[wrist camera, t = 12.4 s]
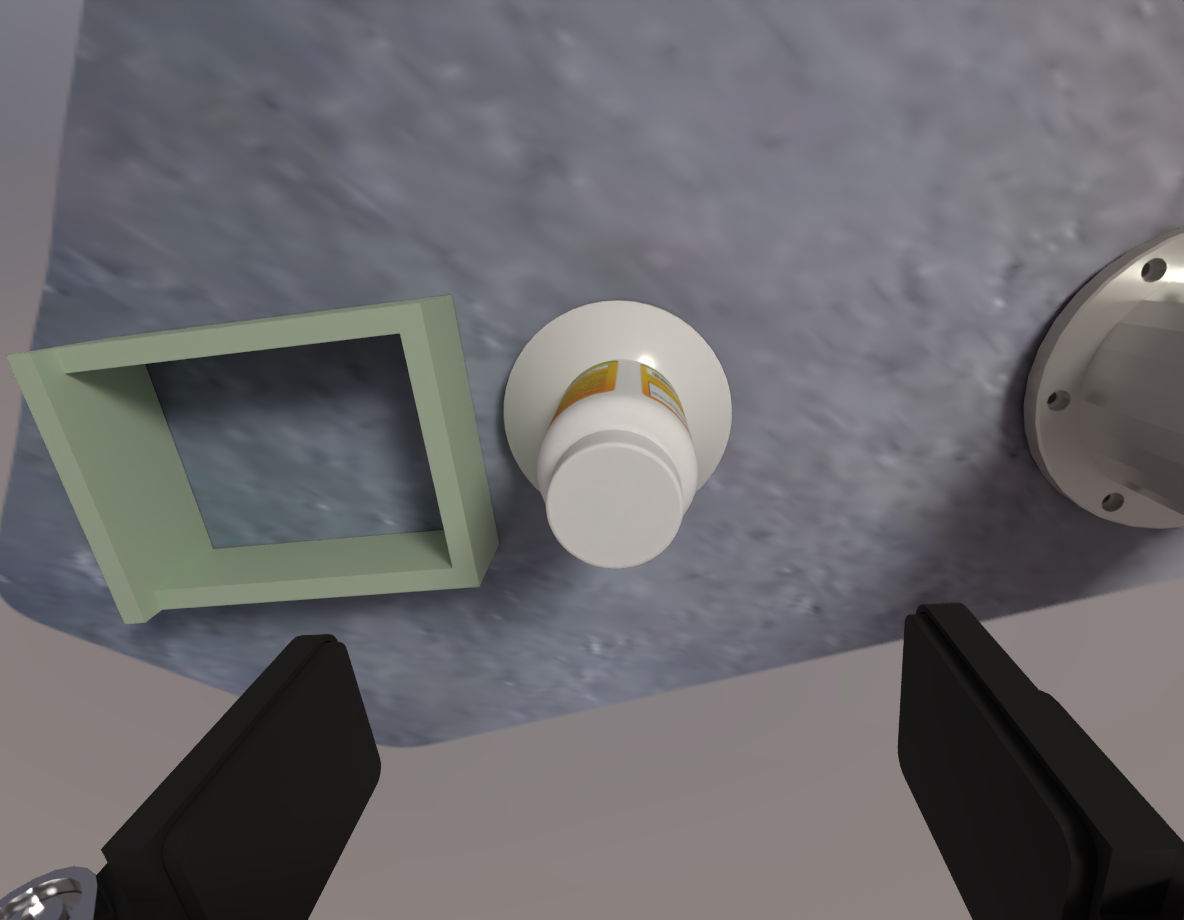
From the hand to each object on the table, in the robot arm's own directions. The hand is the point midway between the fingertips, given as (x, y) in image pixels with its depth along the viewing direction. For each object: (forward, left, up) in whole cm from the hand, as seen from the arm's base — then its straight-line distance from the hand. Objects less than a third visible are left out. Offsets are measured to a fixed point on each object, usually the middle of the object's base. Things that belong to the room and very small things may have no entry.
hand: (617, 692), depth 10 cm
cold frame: (+15, 0, -18) cm, 23 cm away
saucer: (+1, 0, -18) cm, 18 cm away
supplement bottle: (0, 0, -17) cm, 17 cm away
